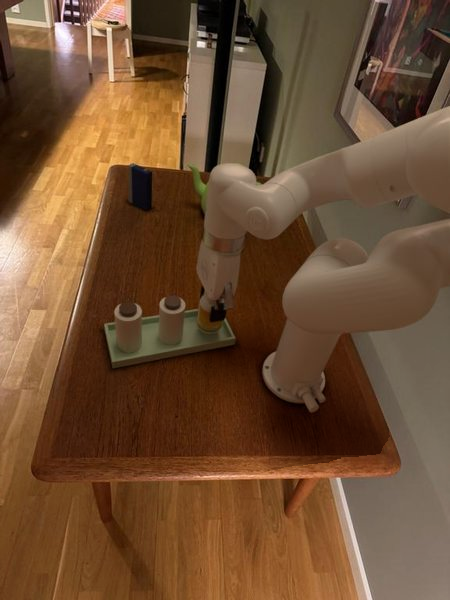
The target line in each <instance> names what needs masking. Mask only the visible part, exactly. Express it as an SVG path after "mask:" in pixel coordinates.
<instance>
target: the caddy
mask: <svg viewBox="0 0 450 600" xmlns="http://www.w3.org/2000/svg"><path fill="white" fill-rule="evenodd" d="M198 311H199V308H195V309H190V310H189V309H188V310H185V316H184V326H183V337H182V340H181V341H180V342H179V343H177V344H175V345H167V344H164V343H162V342H161V341H160V340H159V337H158V331H159V314H158V315H151V316H144V317H142V345H141V347H140V349H138V350H137V351H135V352H132V353H125V352H122V351H120V350H119V349H118V348H117V345H116V330H115V321H113V322H105V323H103V328H104V334H105V340H106V345H107V349H108V353H109V357H110V362H111V367H112V369H117V368H123V367H127V366H128V367H129V366H134V365H137V364H138V365H139V364H142V363H143V364H144V363H149V362H153V361H158V360H164V359H169V358H173V357H174V358H175V357H179V356H184V355H188V354H193V353H194V354H195V353H198V352H205V351H208V350H209V351H210V350H213V349H219V348H225V347H228V346H235V343H236V339H237V337H236V336H235V334H234V332H233V330H232V328H231V326H230V324H229V322H228V320H227V318H226V317H225V320H223V322H222V327H221V329H220V330H219V331H218V332H216V333H213V334H208V333H204V332H202V331H201V330H200V329H199V328H198V326H197V318H198Z"/></svg>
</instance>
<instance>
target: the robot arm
mask: <svg viewBox="0 0 450 600" xmlns="http://www.w3.org/2000/svg"><path fill="white" fill-rule="evenodd" d="M234 163H235V162H234ZM234 163H233V162H225V163H220V164H218V165H216V166H214V167H213V168H212V170H211V171H210V174H209V177H208V178H209V179H208V181H209V185H208V194H207V202H206V210H205V214H204V220H203V227H202V228H203V229H202V235H201V240H200V245H199V249H198V256H197V259H196V260H197V261H196V269H195V270H196V274H197V277H198V280H199V281H200V283H201V286H200V293H199V300H200V299H201V297H202V296H203V295H204V292H205V291H206V293H207V295H208V297H209V298H210V299H211V300H213V306H211V312H210V318H209V320H210V322H217V321H222V320H225V318H226V315H227V311H228V310H233V309H234V301H233V297H234V296H235V295H236V292H237V287H238V281H239V276H240V268H241V267H240V266H241V252H242V250H243V249H244V247H245V241H246V236H247V232H248V233H249V234H250V235H252V236H253V237H255V238H258V239H261V240H272V239H273V240H274V239H275V238H277V237H278V236H280V235H282V233H283V232H284V231H286V230H287V228H289V226H290V225H291V224H292V223H294V222H295V220H297V218H299V216H301V215H302V214H303V213H305V212H307V211H309V210H313V209H315V208H319V207H321V206H324V205H327V204H331V203H335V202H339V201H352V202H353V203H354V204H355V205H356V206H357V207H359V208H361V209H366V210H367V209H372V208H376V207H379V206H382V205H386V204H389V203H393V202H396V201H399V200H403V199H408V198H410V197H414V196H418V197H419V198H420V199H422V200H423V201H425V202H426V203H428V204H430V205H431V206H434V207H435V208H437V209H439V210H442V211H443V212H446V213H448V214H449V215H450V105H448V106H446V107H443V108H441V109H438V110H435V111H433V112H431V113H428V114H425V115H423V116H421V117H419V118H416V119H413V120H411V121H409V122H406V123H404V124H402V125H401V124H400V125H399V126H396V127H393V128H391V129H389V130H386V131H384V132H382V133H380V134H377V135H374V136H372V137H369V138H367V139H364V140H362V141H359V142H356V143H354V144H350V145H349V146H346V147H342V148H340V149H338V150H334V151H332V152H329V153H325V154H323V155H320V156H317V157H315V158H313V159H309V160H307V161H305V162H302V163H300V164H298V165H294V166H293V167H289V168H287V169H286V170H283V171H281V172H279V173H278V174H276V175H274V176H273V177H271V178H270V179H269V180H267V181H266V182H264V183H263V184H262V185H257V186H256V182H257V177H256V174H255V173H254V172H253V170H252V169H250V168H248V167H247V166H246V165H243V164H242V165H239V164H234ZM446 287H450V218H447V219H442V220H437V221H433V222H427V223H424V224H418V225H414V226H410V227H404V228H401V229H397V230H393V231H391V232H389V233H387V234H385V235H384V236H383V237H382V238H381V239H380V240H379V241H378V242H377V243H376V244H375V246H374V247H373V249H372V251H371V252H370V254H369V255H368V253H367V252H366V250H365V249H364V248H363V246H362V245H360V244H359V243H358V242H356V241H354V240H352V239H349V238H342V237H339V238H338V237H337V238H333V239H329V240H326V241H325V242H323V243H321V244H320V245H318V247H316V248H315V249H314V250H313V252H311V253H310V255H308V257H307V258H306V260H305V261H304V262H303V263H302V264H301V266H300V267H299V268H298V270H297V271H296V272H295V273H294V274H293V276H291V278H290V280H289V281H288V283H287V284H286V286H285V288H284V290H283V292H282V293H283V294H282V299H281V304H282V305H281V306H282V309H283V313H284V316H285V317H286V321H285V324H284V327H283V330H282V333H281V336H280V339H279V342H278V345H277V347H276V351H274V352H271V353H270V354H269V355H268V356H267V357H266V358H265V360H264V362H263V365H262V368H261V369H262V370H261V374H262V379H263V381H264V384H265V386H266V387H267V388H268V390H270V392H271V393H272V394H273V395H275V396H276V397H278V398H280V399H281V400H283V401H286V402H289V403H294V404H305V406H306V408H307V410H308V411H309V413H315V412H317V411H318V410H319V409H320V406H319V404H318V403H320V404H323V403H324V402H326V400H327V398H326V397H325V395H324V393H323V392H324V388H325V386H326V377H325V373H324V370H325V369H326V366H327V364H328V362H329V360H330V358H331V356H332V354H333V351H334V350H335V348H336V345H337V344H338V342H339V339H340V337H341V336H342V334H355V333H371V332H384V331H393V330H399V329H403V328H405V327H409V326H412V325H413V324H416V323H418V322H419V321H420V320H422V319H423V318H425V317H426V316H427V315H428V314H429V313H430V312H431V310H432V309H433V307H434V305H435V303H436V300H437V298H438V296H439V292H440V290H441V289H443V288H446ZM219 298H224V303H218V299H219ZM316 400H317V401H318V402H317V401H316Z"/></svg>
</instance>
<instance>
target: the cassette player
mask: <svg viewBox="0 0 450 600" xmlns="http://www.w3.org/2000/svg"><path fill="white" fill-rule="evenodd" d="M127 167H128V170H127V171H128V177H127V191H128V192H127V194H128V195H127V196H128V197H127V198H128V203H130V204H132V205H134V206H136V207H138V208H140V209H142V210H144V211H146V212H147V211H149V210H151V209H153V207H152V205H153V171H152V170H150V169H148V168H145V167H143V166H141V165H138V164H137V163H134V162H132V163H130V164H128V165H127Z"/></svg>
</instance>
